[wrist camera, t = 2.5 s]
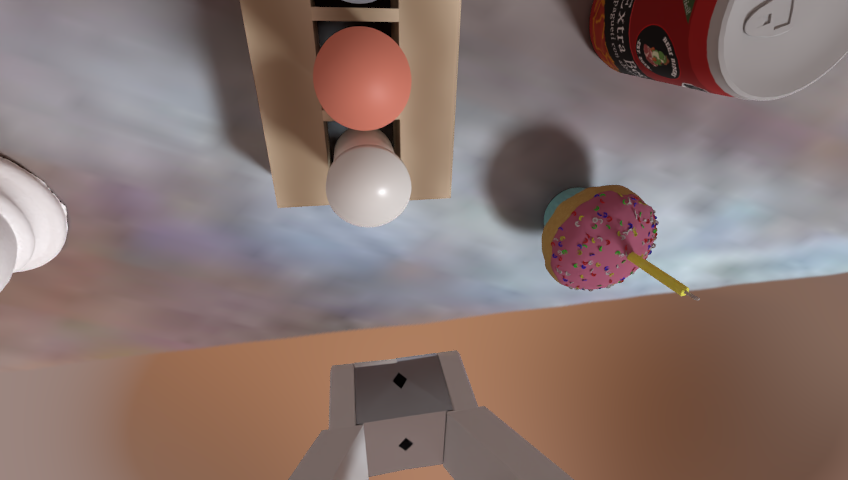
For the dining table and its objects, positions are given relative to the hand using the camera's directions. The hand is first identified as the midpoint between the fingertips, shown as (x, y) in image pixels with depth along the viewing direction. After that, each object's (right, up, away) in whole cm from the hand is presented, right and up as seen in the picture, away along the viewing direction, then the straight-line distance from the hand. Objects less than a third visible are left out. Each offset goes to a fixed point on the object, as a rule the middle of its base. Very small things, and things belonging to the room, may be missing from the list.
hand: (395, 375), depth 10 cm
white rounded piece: (-3, +9, +15) cm, 17 cm away
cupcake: (+13, +6, +24) cm, 28 cm away
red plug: (-3, +13, +12) cm, 18 cm away
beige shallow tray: (-4, +15, +15) cm, 21 cm away
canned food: (+15, +19, +17) cm, 29 cm away
